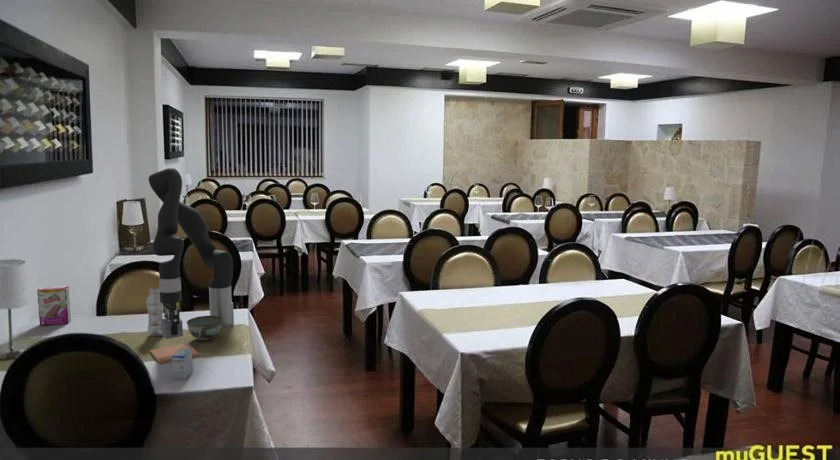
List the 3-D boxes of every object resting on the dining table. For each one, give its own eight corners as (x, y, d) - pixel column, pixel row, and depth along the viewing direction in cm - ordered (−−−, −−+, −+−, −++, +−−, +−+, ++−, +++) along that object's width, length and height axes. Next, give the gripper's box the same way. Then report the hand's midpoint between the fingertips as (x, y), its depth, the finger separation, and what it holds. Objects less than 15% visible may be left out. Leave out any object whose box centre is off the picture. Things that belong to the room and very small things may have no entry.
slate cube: (178, 331, 224) (177, 316, 223) (182, 336, 219) (182, 320, 218) (162, 334, 220) (161, 319, 220) (166, 339, 216) (165, 323, 215)
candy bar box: (39, 326, 252) (36, 289, 250) (42, 323, 257) (39, 286, 254) (68, 324, 255) (66, 287, 253) (71, 320, 260) (68, 285, 258)
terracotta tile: (188, 345, 231) (187, 343, 231) (198, 355, 220) (198, 353, 220) (150, 352, 222) (150, 350, 222) (159, 363, 211) (159, 361, 211)
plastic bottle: (159, 338, 238) (156, 291, 236) (144, 337, 240) (141, 290, 237) (168, 333, 245) (166, 287, 242) (154, 332, 246) (151, 286, 243)
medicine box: (180, 371, 205) (179, 347, 204) (193, 371, 205) (192, 347, 204) (172, 380, 197) (171, 355, 196) (186, 379, 197) (185, 355, 196)
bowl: (229, 335, 243) (228, 317, 242) (208, 346, 230) (207, 326, 229) (202, 332, 247) (201, 314, 246) (180, 342, 235) (179, 322, 233)
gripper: (186, 291, 214) (187, 335, 216) (175, 284, 225) (177, 326, 228) (164, 294, 209) (166, 339, 212) (155, 286, 221) (157, 329, 223)
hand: (172, 332), depth 220 cm, fingers closed on slate cube, 6 cm apart
